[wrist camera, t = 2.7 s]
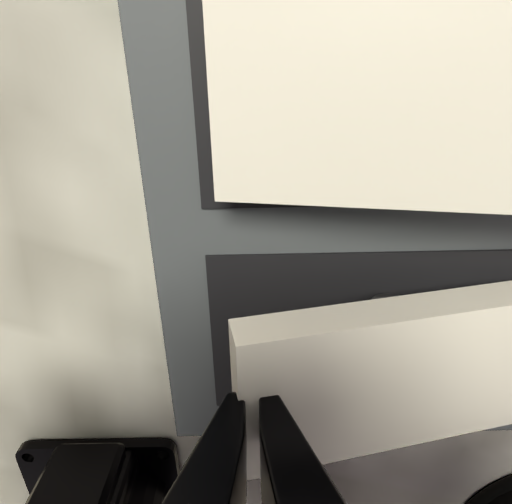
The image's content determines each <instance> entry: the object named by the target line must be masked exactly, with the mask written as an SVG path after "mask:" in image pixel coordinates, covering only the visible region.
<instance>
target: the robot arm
mask: <svg viewBox="0 0 512 504" xmlns="http://www.w3.org/2000/svg"><path fill="white" fill-rule="evenodd" d="M259 437H260V477H261V497H262V504H346V503H345V501H344V499H343V498H342V496H341V495H340V493H339V491H338V490H337V488H336V486H335V485H334V483H333V482H332V480H331V478H330V477H329V475H328V474H327V472H326V470H325V469H324V467H323V465H322V464H321V462H320V461H319V459H318V457H317V456H316V454H315V452H314V451H313V449H312V448H311V446H310V444H309V443H308V441H307V440H306V438H305V436H304V435H303V433H302V431H301V430H300V428H299V427H298V425H297V423H296V422H295V420H294V418H293V417H292V415H291V414H290V412H289V410H288V409H287V407H286V406H285V404H284V402H283V401H282V399H281V397H280V396H279V395H274V396H267V397H261V398H260V399H259ZM16 460H17V463H18V465H19V468H20V470H21V473H22V476H23V478H24V481H25V484H26V486H27V489H28V491H29V494H30V496H29V498H28V499H27V501H26V503H25V504H246V495H247V437H246V409H245V401H244V400H240V401H238V398H237V394H236V392H228V393H227V394H226V396H225V397H224V399H223V401H222V402H221V404H220V406H219V407H218V409H217V411H216V412H215V414H214V416H213V417H212V419H211V421H210V422H209V424H208V426H207V428H206V429H205V431H204V433H203V434H202V436H201V438H200V439H199V441H198V443H197V444H196V446H195V448H194V449H193V451H192V453H191V454H190V456H189V458H188V460H187V461H186V463H185V465H184V466H183V468H182V470H181V471H180V469H179V462H178V454H177V447H176V445H175V443H174V442H173V441H171V440H169V439H164V438H155V439H100V440H46V441H26V442H24V443H22V445H21V446H20V448H19V450H18V451H17V453H16Z"/></svg>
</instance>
